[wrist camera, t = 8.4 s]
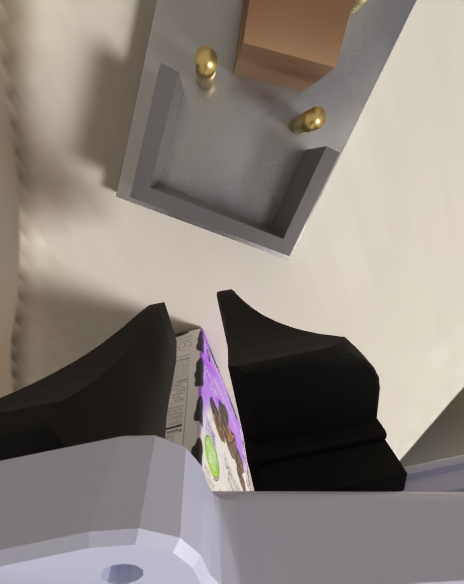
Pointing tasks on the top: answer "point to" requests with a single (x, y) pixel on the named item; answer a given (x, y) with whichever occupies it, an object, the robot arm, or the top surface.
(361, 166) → the top surface
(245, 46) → the walnut block
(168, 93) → the housing
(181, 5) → the base plate
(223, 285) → the top surface
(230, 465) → the candy box
